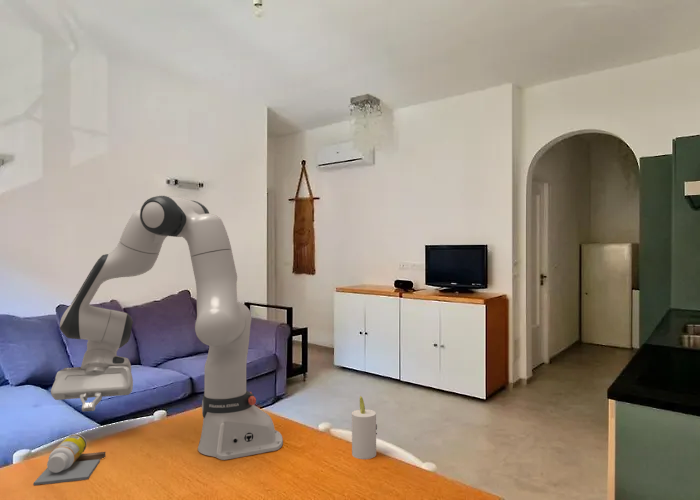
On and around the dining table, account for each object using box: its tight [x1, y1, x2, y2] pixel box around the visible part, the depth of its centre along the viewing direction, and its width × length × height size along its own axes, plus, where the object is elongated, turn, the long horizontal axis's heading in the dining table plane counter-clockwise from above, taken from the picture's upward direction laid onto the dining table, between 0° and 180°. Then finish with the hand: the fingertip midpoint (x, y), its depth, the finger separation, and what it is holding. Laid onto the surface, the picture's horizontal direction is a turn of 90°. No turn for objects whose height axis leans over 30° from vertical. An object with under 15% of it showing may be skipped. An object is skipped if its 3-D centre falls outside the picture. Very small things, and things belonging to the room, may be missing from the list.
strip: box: [75, 451, 106, 462], centre depth 116 cm, size 12×2×1 cm, turn 105°
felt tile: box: [32, 459, 101, 486], centre depth 109 cm, size 11×10×1 cm
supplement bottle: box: [46, 433, 88, 473], centre depth 111 cm, size 6×6×10 cm
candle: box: [351, 395, 378, 460], centre depth 119 cm, size 6×6×15 cm
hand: (87, 410), depth 124 cm, fingers closed
